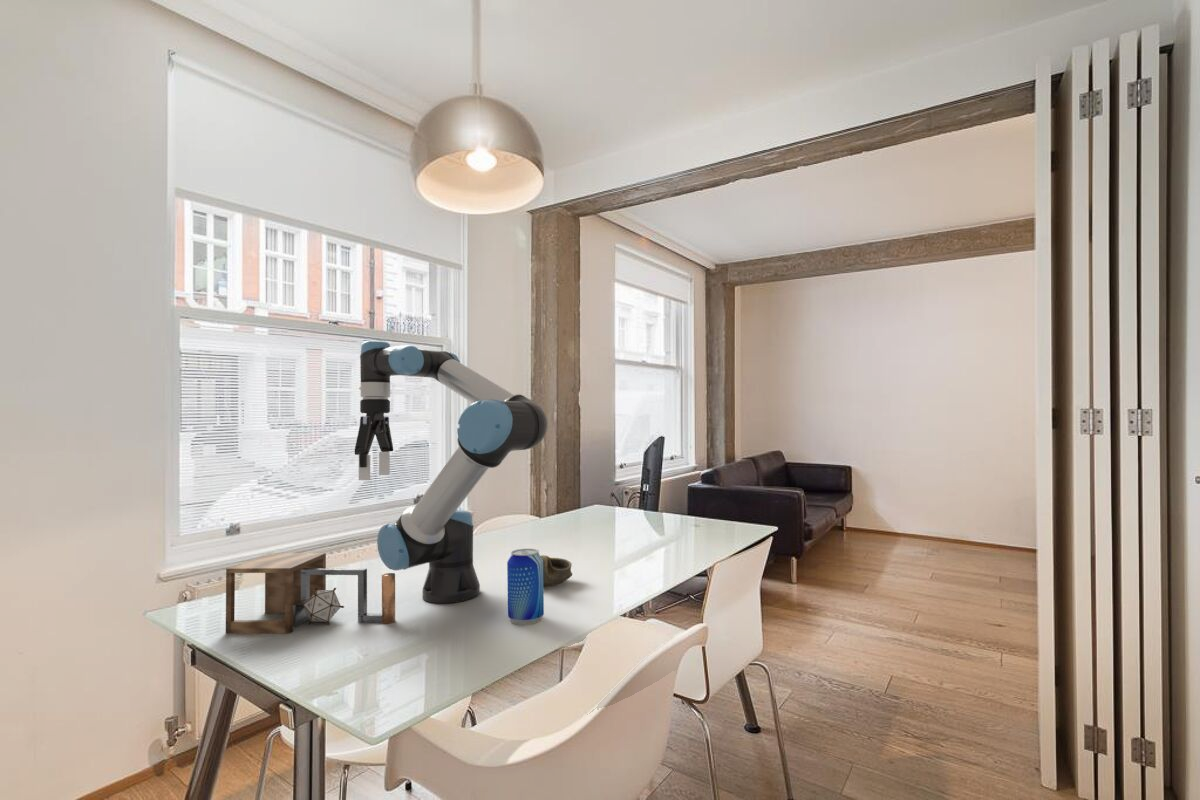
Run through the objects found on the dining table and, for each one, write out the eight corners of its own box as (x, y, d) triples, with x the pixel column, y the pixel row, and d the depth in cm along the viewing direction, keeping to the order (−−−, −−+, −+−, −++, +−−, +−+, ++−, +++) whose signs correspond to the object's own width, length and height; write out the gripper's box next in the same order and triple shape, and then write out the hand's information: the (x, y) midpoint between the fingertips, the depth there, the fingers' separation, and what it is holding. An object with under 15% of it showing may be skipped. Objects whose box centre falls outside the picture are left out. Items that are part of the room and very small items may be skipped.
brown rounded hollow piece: (575, 577, 174) (574, 544, 174) (566, 595, 156) (565, 557, 157) (530, 577, 175) (529, 544, 175) (516, 594, 157) (516, 557, 158)
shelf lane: (325, 611, 146) (325, 553, 146) (290, 633, 130) (290, 568, 131) (267, 611, 147) (268, 553, 147) (225, 633, 131) (226, 568, 132)
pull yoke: (404, 614, 142) (403, 564, 142) (384, 629, 132) (384, 575, 133) (314, 613, 144) (314, 563, 145) (288, 627, 134) (288, 574, 135)
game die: (320, 641, 135) (304, 615, 130) (303, 622, 140) (287, 596, 134) (355, 615, 141) (341, 588, 135) (337, 596, 145) (323, 571, 140)
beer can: (549, 616, 139) (548, 548, 140) (534, 627, 131) (533, 556, 132) (518, 612, 142) (517, 546, 143) (501, 624, 134) (500, 554, 135)
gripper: (379, 400, 169) (378, 473, 169) (340, 397, 144) (339, 482, 144) (404, 400, 169) (404, 473, 169) (370, 396, 144) (370, 482, 144)
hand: (374, 477), depth 156 cm, fingers open, 13 cm apart
